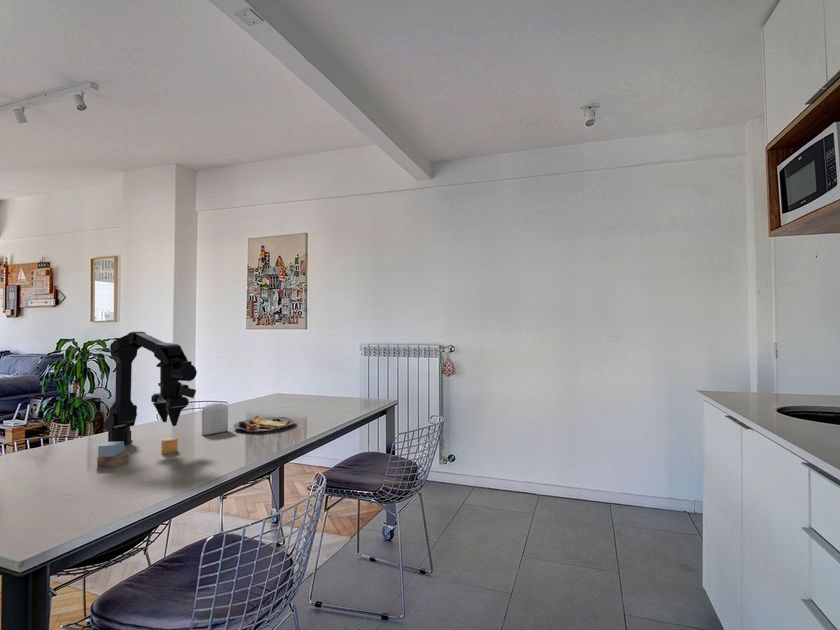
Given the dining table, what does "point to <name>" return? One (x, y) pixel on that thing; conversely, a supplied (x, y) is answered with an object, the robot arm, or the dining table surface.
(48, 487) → the dining table surface
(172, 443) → the orange cylinder
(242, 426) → the food plate
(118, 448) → the slate top block
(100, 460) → the walnut base block
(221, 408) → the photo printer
